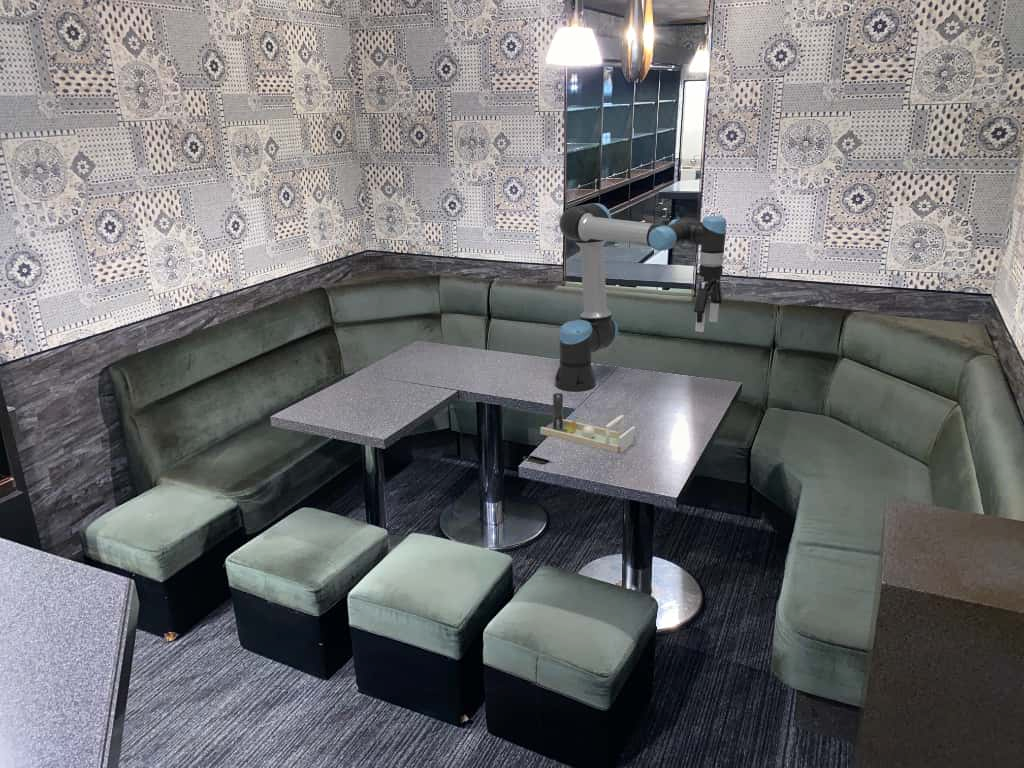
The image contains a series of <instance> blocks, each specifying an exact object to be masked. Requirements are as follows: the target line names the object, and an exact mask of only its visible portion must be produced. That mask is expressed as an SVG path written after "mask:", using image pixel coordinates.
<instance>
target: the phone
mask: <svg viewBox="0 0 1024 768" xmlns="http://www.w3.org/2000/svg"><path fill="white" fill-rule="evenodd" d="M530 455H531V454H527V453H526V454H523V456H522V461H523V460H524V461H526V459H528V460H527V461H526V462H530V463H534V462H535V463H534V464H539V465H546V464H548V463H549V462H551V461H550V460H549V459H545V458H542V457H538V456H533V455H531V456H530ZM529 456H530V457H529ZM528 457H529V458H528Z"/></svg>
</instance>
